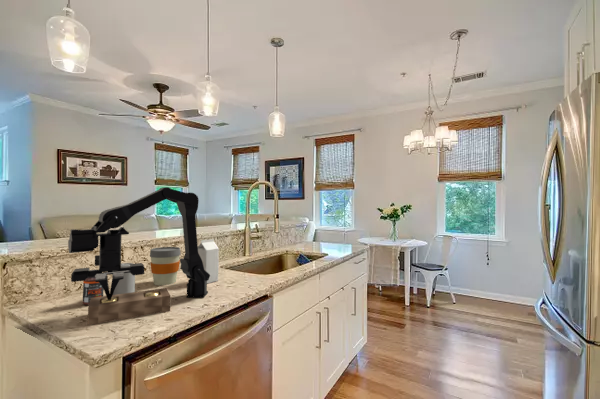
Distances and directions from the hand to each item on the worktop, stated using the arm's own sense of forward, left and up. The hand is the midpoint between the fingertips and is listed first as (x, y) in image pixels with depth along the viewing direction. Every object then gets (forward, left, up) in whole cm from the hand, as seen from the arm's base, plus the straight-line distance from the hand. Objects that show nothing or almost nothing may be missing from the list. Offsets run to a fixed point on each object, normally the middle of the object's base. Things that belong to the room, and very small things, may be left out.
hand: (109, 299), depth 90 cm
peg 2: (-10, -6, -5) cm, 13 cm away
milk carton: (-19, -40, -5) cm, 45 cm away
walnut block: (-5, -3, -5) cm, 8 cm away
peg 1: (0, 0, -5) cm, 5 cm away
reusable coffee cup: (-1, -38, -5) cm, 38 cm away
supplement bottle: (+13, -12, -5) cm, 18 cm away
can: (+7, -20, -5) cm, 22 cm away
